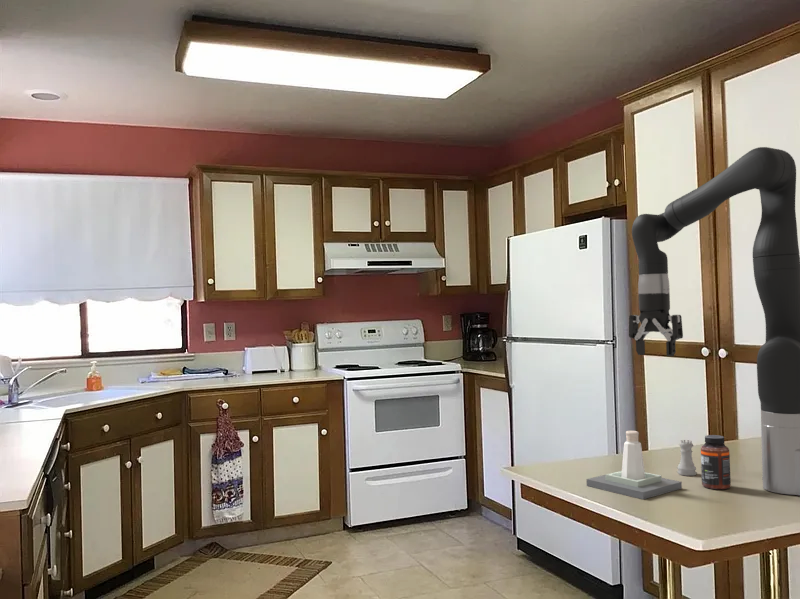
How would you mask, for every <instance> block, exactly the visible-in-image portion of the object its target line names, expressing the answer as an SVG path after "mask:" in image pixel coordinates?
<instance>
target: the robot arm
mask: <svg viewBox="0 0 800 599" xmlns="http://www.w3.org/2000/svg"><path fill="white" fill-rule="evenodd" d="M796 185H797V165H796V162H795V159H794V157H793V156H792V155H791V154H790V152H787V151H786V150H783V149H779V148H774V147H773V148H772V147H769V146H768V147H767V146H759V147H756V148H755V147H754V148H753V149H751V150H749V151H747V152H746V153H745V154H743V155H742V156H741V157H739V158H738V159H737V160H735V161H734V162H733V163H732V164H731V165H729V166H728V167H726V168H725V169H724V170H723V171H721V172H719V173H718V174H717V175H716V176H714V177H713V178H712V179H710V180H708V181H707V182H705V183H703V184H702V185H700V186H699V187H697V188H695V189H693V190H691V191H690V192H688V193H686V194H684V195H682V196H680V197H678V198H677V199H675V200H673V201H671V202H670V203H668V204H667V205H666V207H665V208H664V212H662V213H660V214H653V213H642V214H639V215H638V216H637V217H635V219H634V221H633V223H632V227H631V237H632V241H633V246H634V248H635V252H636V255H637V258H638V284H637V286H638V287H637V288H638V291H637V292H638V310H639V311H640V312H639V315H638V314H630V315H629V316H628V318H629V319H628V337H629V338H630V339H633V340H635V351H636V353H637V355H638V356H644V355H645V354H646V346H645V345H646V343H645V342H646V341H645V338H646V337H647V335H648V334H650V333H651V332H655V333H660V334H661V335H663V337H664V339H666V342H665V345H666V347H665V348H666V349H665V350H666V356H667V357H674V356H675V355H676V352H677V351H676V350H677V349H676V346H677V345H676V342H677V340H680V339H683V338H684V332H683V320H682V315H681V314H672V315H671V314H670V310H671V301H670V300H671V299H670V297H671V296H670V295H671V294H670V279H669V267H668V264H669V263H668V255H667V253H666V252H664V251H663V250H661V249H660V247H659V244H658V243H661V242H665V241H667V240H669V239H671V238H673V237H674V236H675V235H676V234H678V233H679V232H681V231H682V230H683V229H684V228H685V227H688V226H690V225H692V224H695V223H696V222H698V221H700V220H702V219H704V218H705V217H707V216H709V215H710V214H712V213H713V212H714V211H715V210H716V209H717V208H718V207H720V206H721V205H722V204H723V203H724V202H725V201H727V200H728V199H730V198H732V197H734V196H736V195H739V194H742V193H746V192H748V191H750V190H751V191H752V190H759V197H760V203H761V204H760V205H761V217H760V223H759V226H758V229H757V232H756V235H755V238H754V241H753V247H752V267H753V277H754V281H755V287H756V290H757V293H758V297H759V300H760V303H761V307H762V310H763V313H764V319H765V321H764V322H765V343H764V344H762V345H761V346H760V348H759V349H758V351H757V356H756V379H757V393H758V398H759V402H760V428H761V429H760V430H761V466H762V467H761V469H762V470H761V471H762V474H761V476H762V479H761V480H762V489H763V490H766V491H769V492H772V493H774V494H775V493H776V494H782V495H796V496H800V248H799V247H800V246H799V236H798V225H797V215H796V191H797V189H796V188H797V186H796ZM640 323H641V325H640V326H639V324H640ZM669 323H671V326H672V327H671V326H670V325H669Z"/></svg>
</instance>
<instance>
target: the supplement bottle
mask: <svg viewBox="0 0 800 599" xmlns="http://www.w3.org/2000/svg"><path fill="white" fill-rule="evenodd" d="M704 442H705V443H704V444H703V445H701V447H700V465H701V466H700V468H701V485H702V487H704V488H707V489H711V490H719V491H721V490H723V491H724V490H727V489H730V488H731V487H732V485H731V482H732V481H731V458H730V457H731V454H730V449H729V447H728V446H727V445H725V437H724V436H723V435H716V434H708V435H705V436H704Z"/></svg>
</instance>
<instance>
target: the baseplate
mask: <svg viewBox="0 0 800 599" xmlns="http://www.w3.org/2000/svg"><path fill="white" fill-rule="evenodd" d="M621 474H622V470H619V471H616V472H615V471H614V472H609V473H605V474H603V475H602V474H601V475H599V476H594V477H589V478H586V487H589V488H594V489H598V490H603V491H606V492H607V491H608V492H611V493H616V494H619V495H623V496H629V497H630V498H631V497H632V498H636V499H640V500H646V499H649V498H653V497H656V496H659V495H663V494H666V493H670V492H674V491H679V490H682V488H683V485H682V483H683V482H682V481H679V480H675V479H670V478H666V477H662V475H661V474H656V473H650V472H646V471H645V479H641V480H633V479H628V478H623V477H621Z"/></svg>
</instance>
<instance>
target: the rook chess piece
mask: <svg viewBox="0 0 800 599" xmlns="http://www.w3.org/2000/svg"><path fill="white" fill-rule="evenodd" d="M678 446H679V447H680V450H679V451H680V462H679V463H678V465H677V467H676V468H677V471H676V473H677V474H678V475H679V476H684V477H693V476H694V477H695V476H696V475H697V467H696V466H695V463H694V461H693V457H692V456H693V455H692V453H693V449H692V448H693V447H694V444H693V443H692V440H690V439H689V440H688V439H682V440H680V443H679V444H678Z"/></svg>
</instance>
